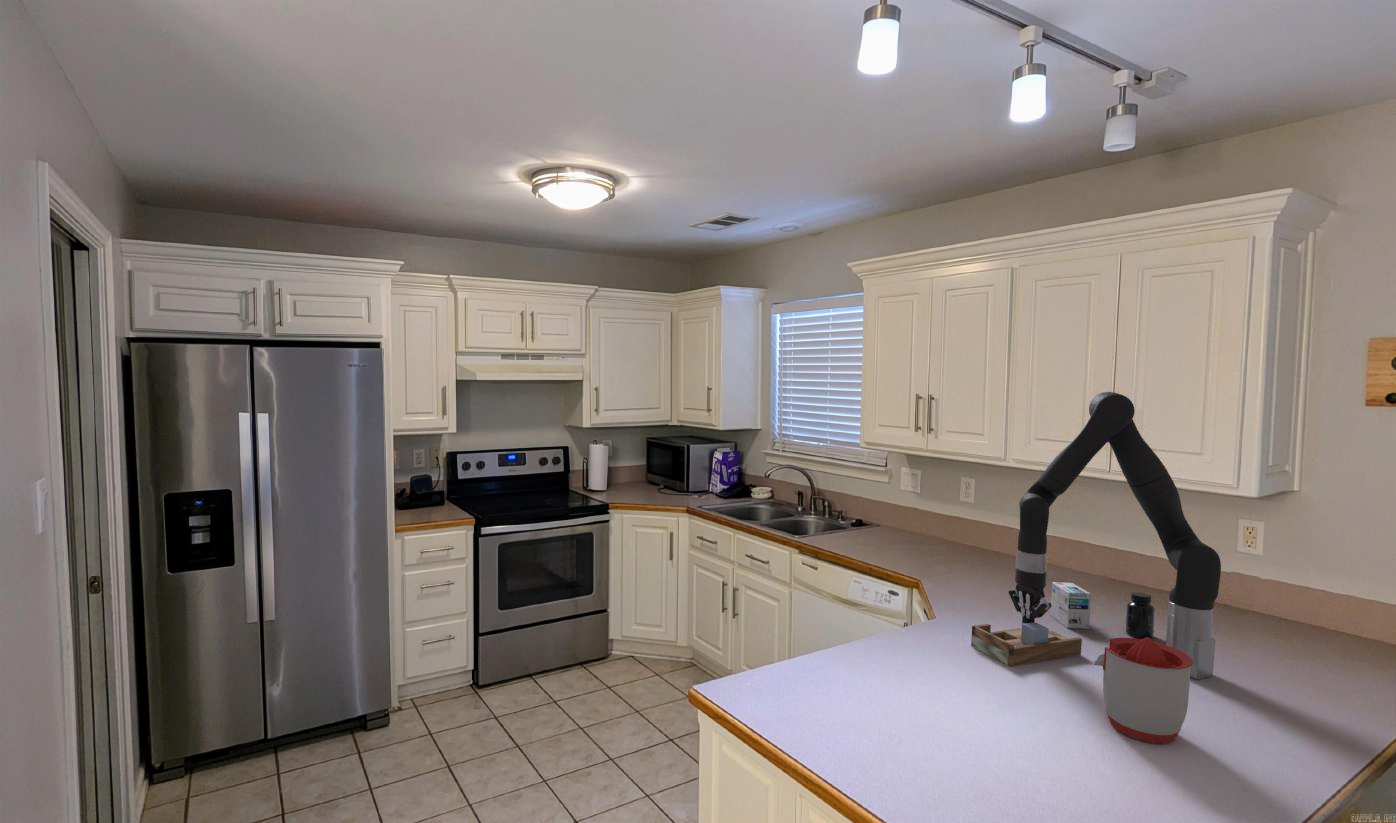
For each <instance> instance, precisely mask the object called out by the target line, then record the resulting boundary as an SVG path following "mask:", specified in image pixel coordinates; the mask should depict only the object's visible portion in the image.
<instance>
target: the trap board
mask: <svg viewBox="0 0 1396 823" xmlns="http://www.w3.org/2000/svg"><path fill="white" fill-rule="evenodd" d="M991 627H992V625H991V624H990V623H984V624H977V625H972V626H971V638H970V639H971V641H970V642H971V643H970V646H971V647H973V648H974V649H977V650H979V651H980V652H983V653H984V654H986V655H988V656H990V657H991V658H993V659H996V660H998V661H999V662H1002V663H1003V664H1005V665H1006V666H1009V667H1018V666H1023V665H1028V664H1029V665H1030V664H1035V663H1042V662H1046V661H1047V662H1048V661H1053V660H1054V661H1055V660H1059V659H1066V658H1071V657H1072V658H1073V657H1077V656H1081V655H1082V644H1083V643H1082V642H1083V638H1082V637H1079V636H1077V637H1071V638H1068V637H1066V636H1064V635H1061V634H1060V633H1057V632H1055V631H1053V630H1051V629H1049V632H1048V642H1044V643H1037V644H1031V645H1026V644H1024V643H1022V642H1021V633H1022V627H1018V628H1010V629H1005V630H998V631H996V630H995V631H991Z"/></svg>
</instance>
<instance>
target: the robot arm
mask: <svg viewBox="0 0 1396 823" xmlns="http://www.w3.org/2000/svg"><path fill="white" fill-rule="evenodd" d="M1088 413H1089V416H1090V417H1089V419H1088V421H1087V423H1086V424H1085V425H1084V427H1083V428H1082V430H1081V431H1080V433H1079V434H1078V435H1077V436H1076V437H1075V438H1074V439H1073V440H1072V441H1071V442H1070V443H1069V444H1068V445H1067V446H1066V447H1065V448H1063V449H1062V451H1060V452H1059V453H1058V454H1057V455H1056V456H1055V458H1054V459H1052V461H1051V462H1050V464H1048V466H1047V467H1046V469H1045V470H1044V471H1043V473H1042V474H1041V476H1040V477H1039V478H1038V479H1037V480H1036V481H1035V483H1033V484H1032V485H1031V486H1030V487H1029V488H1028V490H1026V491H1025V493H1024V494H1023V496H1022V497H1021V498H1020V500H1019V504H1018V505H1019V531H1018V535H1017V552H1016V557H1015V574H1014V577H1015V578H1014V582H1015V584H1016V585H1015V588H1014V589H1011V590H1008V595H1009V596H1010V599H1011V602H1012V604H1013V606H1014V608H1015V610H1016V612H1018V613H1020V614H1021V617H1022V618H1021V619H1022V620H1021V625H1022V624H1023V623H1036V622H1035V620H1036V619H1038V618H1039V619H1040V618H1042V617H1043V616H1044V615H1045V614H1046V613H1047V612H1048V611H1049V610H1051V606H1052V605H1051V602H1047V600H1046V598H1045V597H1046V594H1045V591H1044V589H1045V588H1046V586H1047V568H1048V567H1047V566H1048V558H1047V556H1048V555H1047V549H1048V548H1047V546H1048V539H1047V538H1048V536H1047V532H1048V527H1049V517H1050V507H1051V506H1052V504H1053V503H1054V502H1055V501H1056V499H1058V497H1059V496H1061V495H1063V494H1064V493H1065V492H1066V491H1067V490H1068V489H1069V488H1070V487H1071V486H1072V484H1073V483H1074V482H1075V481H1076V479H1077V478H1078V477H1079V475H1080V474H1081V473H1082V472H1083V470H1084V469H1085V468H1086V466H1087V465H1088V464H1089V463H1090V462H1091V460H1092V459H1093V458H1094V457H1095V456H1096V454H1098V453H1099V451H1100V450H1102V448H1103V447H1104V446H1105V445H1106V444H1107V443H1108V444H1109V446H1110V448H1111V449H1112V451H1113V453H1114V455H1115V458H1116V460H1117V463H1118V465H1119V467H1120V470H1121V471H1122V474H1123V476H1124V477H1125V478H1124V479H1126V483H1127V484H1128V486H1129V488H1130V489H1131V491H1132V494H1133V495H1134V497H1135V499H1136V501H1137V502H1138V503H1139V505H1140V507H1141V509H1142V510H1143V512H1144V513H1145V514H1146V517H1147V518H1148V520H1149V521H1150V522H1151V524H1152V526H1153V527H1154V529H1155V531H1156V533H1157V535H1158V538H1159V539H1160V542H1161V544H1162V547H1163V549H1164V552H1165V554H1166V557H1167V560H1168V561H1169V563H1170V565H1171V566H1172V568H1174V569H1175V570H1176V578H1175V585H1174V587H1173V588H1171V589H1170V590H1169V595H1168V610H1167V611H1168V612H1167V623H1166V636H1165V638H1166V639H1165V645H1167V646H1170V647H1172V648H1175V649H1177V650H1179V651H1182V652H1183V653H1185V654H1187V655H1188V656H1189V657H1190V658H1191V659H1192V661H1193V664H1192V666H1191V671H1190V678H1193V679H1194V680H1195V679H1196V680H1198V679H1199V680H1200V679H1205V678H1209V677H1213V676H1214V666H1215V664H1214V662H1215V650H1216V639H1215V637H1212V634H1213V633H1212V632H1213V621H1214V607H1215V601H1216V600H1217V598H1218V596H1219V592H1220V584H1221V582H1220V581H1221V575H1222V574H1221V573H1222V561H1221V558H1220V556H1219V553H1218V552H1217V551H1216V550H1214V548H1212V547H1211V546H1209V545H1208V544H1205V543H1203V541H1201V540H1200V539H1199V537H1198V536H1197V535H1196V533H1195V531H1194V530H1193V529H1192V527H1191V525H1190V524H1189V523H1188V520H1187V519H1186V517H1185V514H1184V511H1183V506H1182V503H1181V498H1180V494H1179V491H1178V489H1177V486H1176V484H1175V482H1174V481H1173V478H1172V477H1171V475H1170V473H1169V471H1168V469H1167V468H1166V466H1165V465H1164V464H1163V462H1162V461H1161V459H1160V458H1159V456H1158V455H1157V454H1156V453H1155V451H1154V450H1153V449H1152V448H1151V447H1150V445H1149V444H1148V443H1147V442H1146V441H1145V439H1144V438H1143V437H1142V435H1141V433H1140V431H1139V430H1138V428H1137V425H1136V422H1134V417H1135V413H1136V411H1135V404H1134V403H1133V401H1132V400H1131V399H1130V398H1129V397H1127V396H1126V395H1123V394H1122V393H1118V392H1112V391H1105V392H1100V393H1098V394H1097V395H1095V396H1094V397H1093V398H1092V399H1091V401H1090V403H1089V405H1088Z"/></svg>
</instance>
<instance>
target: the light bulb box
mask: <svg viewBox="0 0 1396 823" xmlns="http://www.w3.org/2000/svg"><path fill="white" fill-rule="evenodd" d="M1091 601H1092V593H1091V592H1089V591H1087V590H1086V589H1084V588H1082V587H1080V586H1078V585H1076V584H1075V583H1074V582H1060V581H1059V582H1058V581H1052V585H1051V602H1050V603H1051V605H1052V606H1051V608H1050V617H1052V618H1053V619H1055V620H1056V621H1057V622H1058V623H1060V624H1061V625H1063V626H1064V627H1065V628H1067V629H1090V618H1091Z"/></svg>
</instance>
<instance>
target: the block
mask: <svg viewBox="0 0 1396 823" xmlns="http://www.w3.org/2000/svg"><path fill="white" fill-rule="evenodd" d="M1021 628H1022V633H1021V642H1022V643H1024V644H1026V645H1031V644H1037V643H1044V642H1048V632H1049V630H1050V628H1048V627H1047V626H1044V625H1042V624H1040V623H1038V622H1034V623H1023V624H1022V623H1021Z"/></svg>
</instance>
